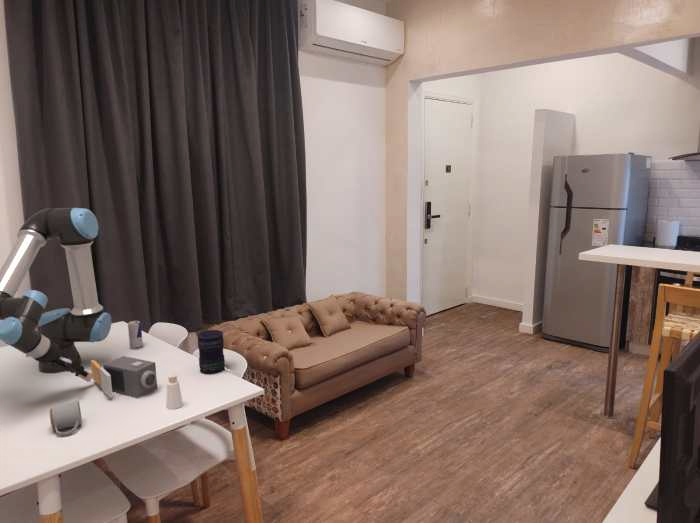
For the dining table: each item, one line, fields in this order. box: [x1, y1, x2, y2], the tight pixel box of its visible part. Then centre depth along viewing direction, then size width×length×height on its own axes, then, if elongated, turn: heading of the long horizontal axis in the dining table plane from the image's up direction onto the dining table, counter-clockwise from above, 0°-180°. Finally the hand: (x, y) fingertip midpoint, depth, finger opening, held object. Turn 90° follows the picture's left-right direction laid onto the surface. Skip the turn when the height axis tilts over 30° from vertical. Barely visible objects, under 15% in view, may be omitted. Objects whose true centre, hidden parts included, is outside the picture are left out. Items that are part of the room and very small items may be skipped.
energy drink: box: [127, 320, 144, 350], centre depth 225 cm, size 5×5×12 cm
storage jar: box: [197, 329, 226, 375], centre depth 199 cm, size 10×10×15 cm
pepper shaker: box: [165, 373, 184, 410], centre depth 169 cm, size 5×5×11 cm
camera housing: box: [102, 355, 158, 399], centre depth 182 cm, size 18×9×11 cm, turn 65°
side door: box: [90, 359, 113, 399], centre depth 181 cm, size 21×1×8 cm, turn 41°
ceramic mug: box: [49, 399, 83, 437], centre depth 155 cm, size 11×8×8 cm
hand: (90, 378), depth 186 cm, fingers closed
